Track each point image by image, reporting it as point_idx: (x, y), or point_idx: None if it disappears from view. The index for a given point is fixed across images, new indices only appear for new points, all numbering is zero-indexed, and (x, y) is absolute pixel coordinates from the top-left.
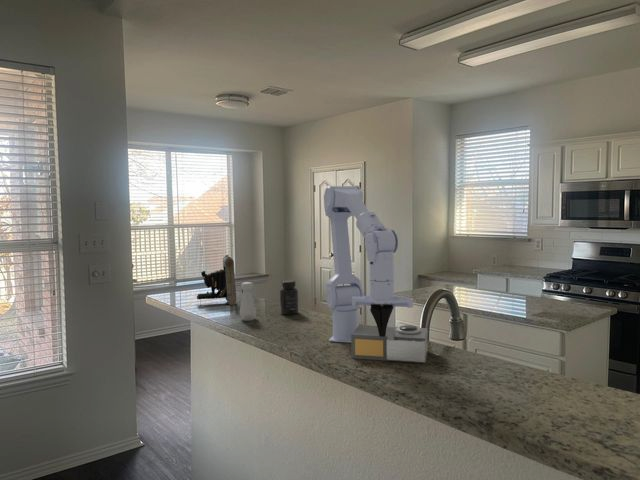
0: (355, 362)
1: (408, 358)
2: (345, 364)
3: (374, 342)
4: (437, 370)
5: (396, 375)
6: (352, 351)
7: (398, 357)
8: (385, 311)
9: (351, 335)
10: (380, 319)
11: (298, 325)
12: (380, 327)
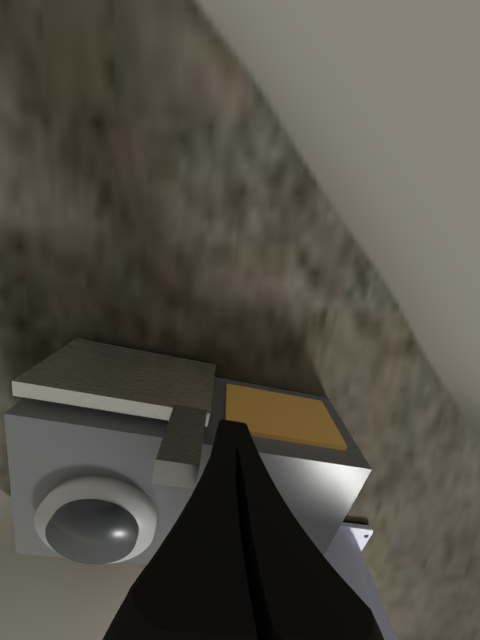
0: (321, 360)
1: (134, 353)
2: (357, 341)
3: (263, 424)
4: (34, 277)
5: (190, 222)
6: (334, 412)
7: (171, 362)
8: (192, 617)
9: (367, 465)
10: (249, 515)
11: (422, 624)
12: (244, 459)
